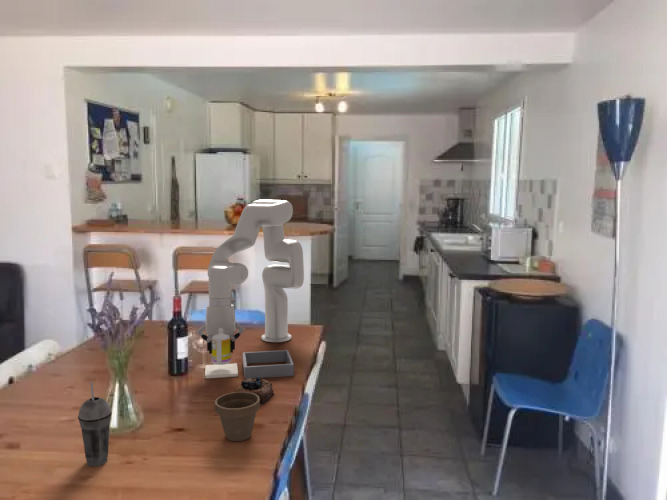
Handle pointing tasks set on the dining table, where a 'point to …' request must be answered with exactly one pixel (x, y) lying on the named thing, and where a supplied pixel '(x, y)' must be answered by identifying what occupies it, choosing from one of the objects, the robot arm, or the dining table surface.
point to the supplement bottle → (221, 348)
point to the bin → (267, 369)
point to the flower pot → (237, 414)
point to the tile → (221, 370)
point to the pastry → (257, 388)
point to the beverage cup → (95, 429)
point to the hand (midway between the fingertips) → (221, 351)
